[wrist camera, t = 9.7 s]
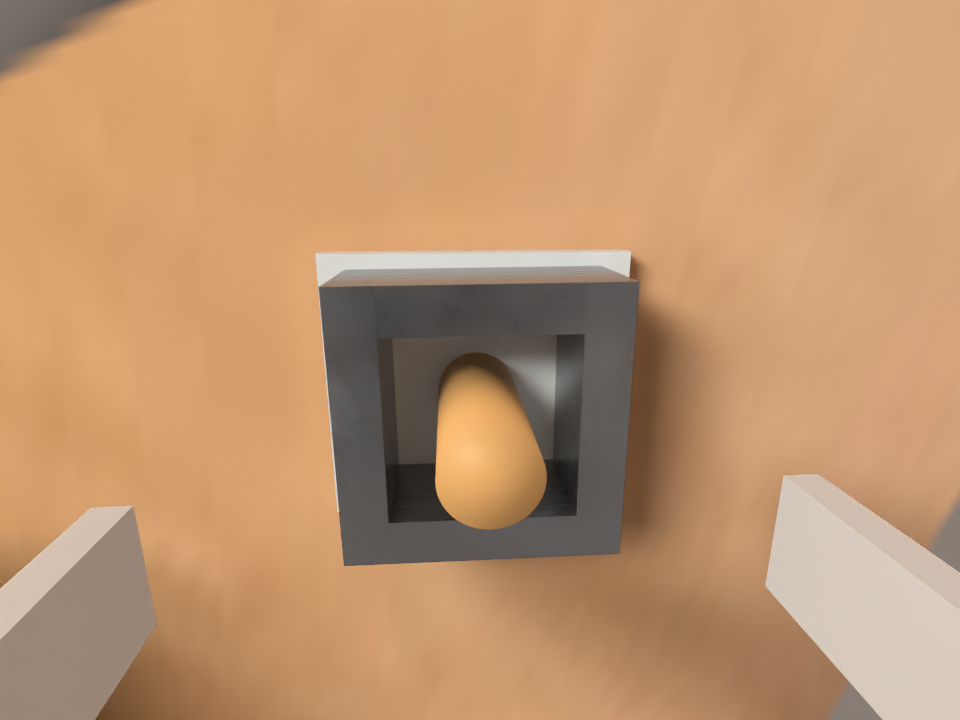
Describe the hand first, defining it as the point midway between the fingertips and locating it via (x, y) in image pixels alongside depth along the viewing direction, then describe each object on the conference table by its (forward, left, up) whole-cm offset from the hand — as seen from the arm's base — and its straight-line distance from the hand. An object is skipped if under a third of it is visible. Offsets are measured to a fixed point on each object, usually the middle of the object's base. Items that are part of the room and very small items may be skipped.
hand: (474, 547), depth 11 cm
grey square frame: (0, 0, -10) cm, 10 cm away
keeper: (+1, 0, -11) cm, 11 cm away
